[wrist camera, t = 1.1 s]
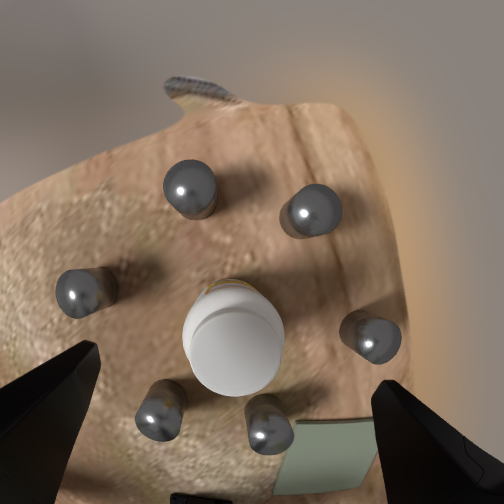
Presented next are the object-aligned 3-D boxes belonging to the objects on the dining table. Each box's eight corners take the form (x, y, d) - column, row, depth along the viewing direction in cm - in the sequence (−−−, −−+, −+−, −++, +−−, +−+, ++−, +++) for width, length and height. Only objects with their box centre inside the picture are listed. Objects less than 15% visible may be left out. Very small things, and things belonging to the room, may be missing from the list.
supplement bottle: (229, 360, 21) (235, 429, 11) (180, 312, 21) (147, 353, 11) (280, 313, 21) (322, 354, 12) (231, 262, 21) (237, 267, 12)
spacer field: (344, 425, 22) (364, 450, 17) (81, 387, 20) (58, 409, 15) (389, 219, 22) (420, 212, 18) (106, 167, 20) (82, 148, 16)
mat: (357, 484, 22) (358, 487, 21) (272, 491, 21) (273, 495, 20) (388, 416, 22) (390, 419, 22) (295, 420, 21) (296, 424, 21)
